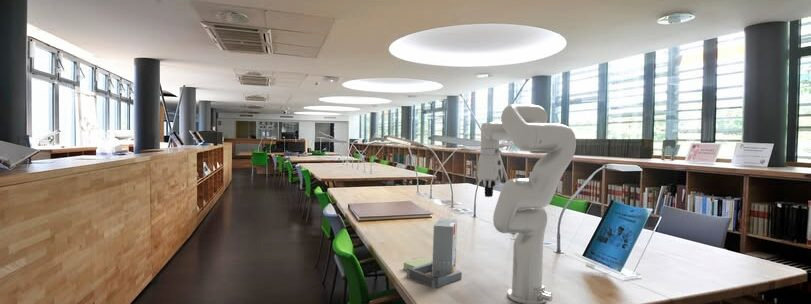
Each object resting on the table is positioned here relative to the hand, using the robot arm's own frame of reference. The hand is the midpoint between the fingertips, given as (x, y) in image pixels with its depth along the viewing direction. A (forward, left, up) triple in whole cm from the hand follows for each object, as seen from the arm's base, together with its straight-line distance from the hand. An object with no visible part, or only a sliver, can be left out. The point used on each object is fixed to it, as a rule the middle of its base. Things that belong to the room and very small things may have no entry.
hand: (488, 196), depth 158 cm
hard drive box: (+6, +20, -29) cm, 36 cm away
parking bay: (+4, +27, -29) cm, 40 cm away
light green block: (+16, +25, -30) cm, 42 cm away
